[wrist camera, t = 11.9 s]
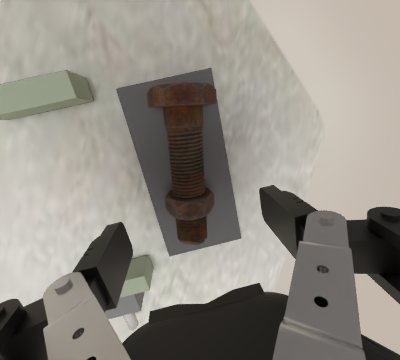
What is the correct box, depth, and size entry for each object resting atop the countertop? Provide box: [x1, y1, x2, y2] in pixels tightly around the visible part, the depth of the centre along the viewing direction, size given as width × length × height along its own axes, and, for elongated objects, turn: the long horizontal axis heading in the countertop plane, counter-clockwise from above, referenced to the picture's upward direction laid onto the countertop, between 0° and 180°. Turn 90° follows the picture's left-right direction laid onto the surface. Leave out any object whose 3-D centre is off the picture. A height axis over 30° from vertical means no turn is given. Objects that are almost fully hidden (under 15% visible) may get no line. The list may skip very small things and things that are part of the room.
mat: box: [116, 68, 241, 256], centre depth 22 cm, size 19×9×1 cm, turn 12°
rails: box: [0, 70, 153, 330], centre depth 21 cm, size 28×8×4 cm, turn 12°
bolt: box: [147, 82, 216, 245], centre depth 19 cm, size 6×5×15 cm
